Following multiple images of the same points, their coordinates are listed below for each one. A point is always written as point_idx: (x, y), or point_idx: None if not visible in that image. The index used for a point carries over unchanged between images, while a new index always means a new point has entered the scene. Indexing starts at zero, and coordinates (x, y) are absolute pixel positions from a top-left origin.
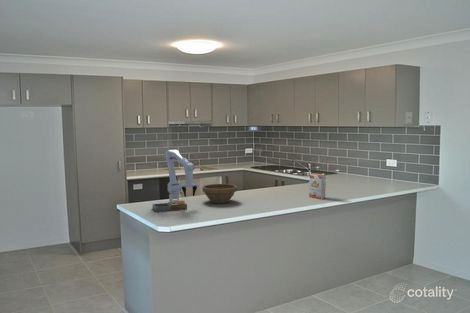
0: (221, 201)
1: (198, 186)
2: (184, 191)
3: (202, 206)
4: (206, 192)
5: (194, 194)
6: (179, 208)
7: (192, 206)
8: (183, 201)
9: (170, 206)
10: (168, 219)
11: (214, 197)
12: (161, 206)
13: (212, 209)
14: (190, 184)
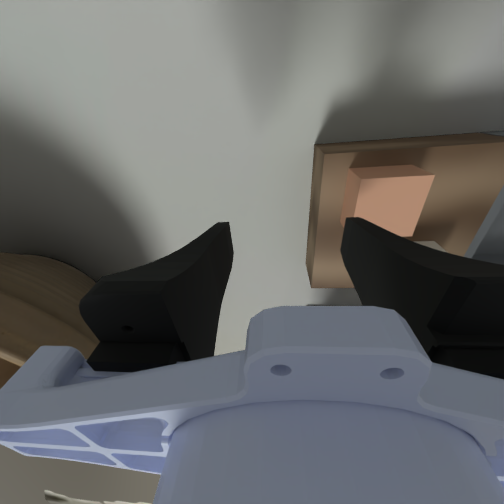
0: (18, 254)
1: (42, 346)
2: (431, 250)
3: (166, 208)
4: (83, 336)
5: (208, 229)
6: (398, 141)
7: (242, 231)
8: (371, 176)
9: None
10: None
11: (38, 276)
12: (493, 258)
13: (58, 41)
14: (319, 446)
